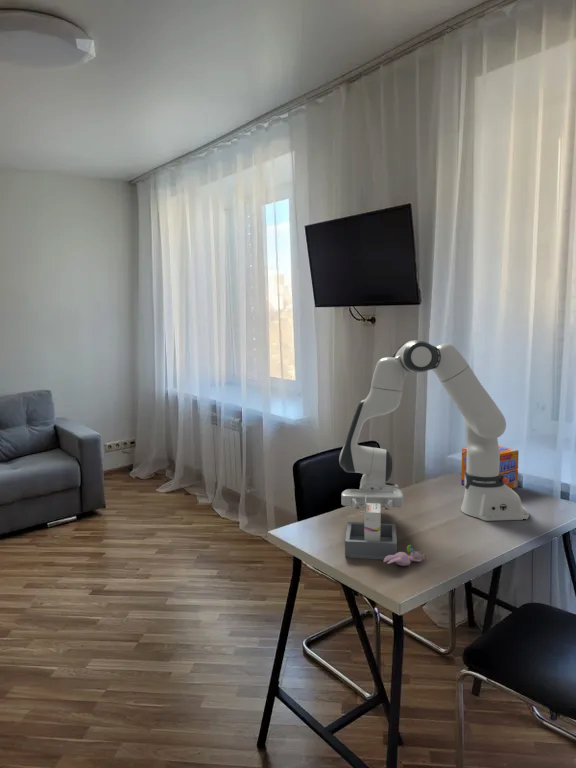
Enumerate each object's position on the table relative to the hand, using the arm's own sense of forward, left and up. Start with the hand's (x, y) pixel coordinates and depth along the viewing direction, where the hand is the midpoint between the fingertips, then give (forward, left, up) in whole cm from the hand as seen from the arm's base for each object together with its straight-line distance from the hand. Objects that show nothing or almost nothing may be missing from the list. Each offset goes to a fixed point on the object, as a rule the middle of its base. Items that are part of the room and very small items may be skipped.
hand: (372, 506), depth 173 cm
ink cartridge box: (0, +7, -10) cm, 12 cm away
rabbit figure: (-9, +17, -11) cm, 22 cm away
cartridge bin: (0, +7, -10) cm, 13 cm away
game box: (-46, -58, -11) cm, 75 cm away
